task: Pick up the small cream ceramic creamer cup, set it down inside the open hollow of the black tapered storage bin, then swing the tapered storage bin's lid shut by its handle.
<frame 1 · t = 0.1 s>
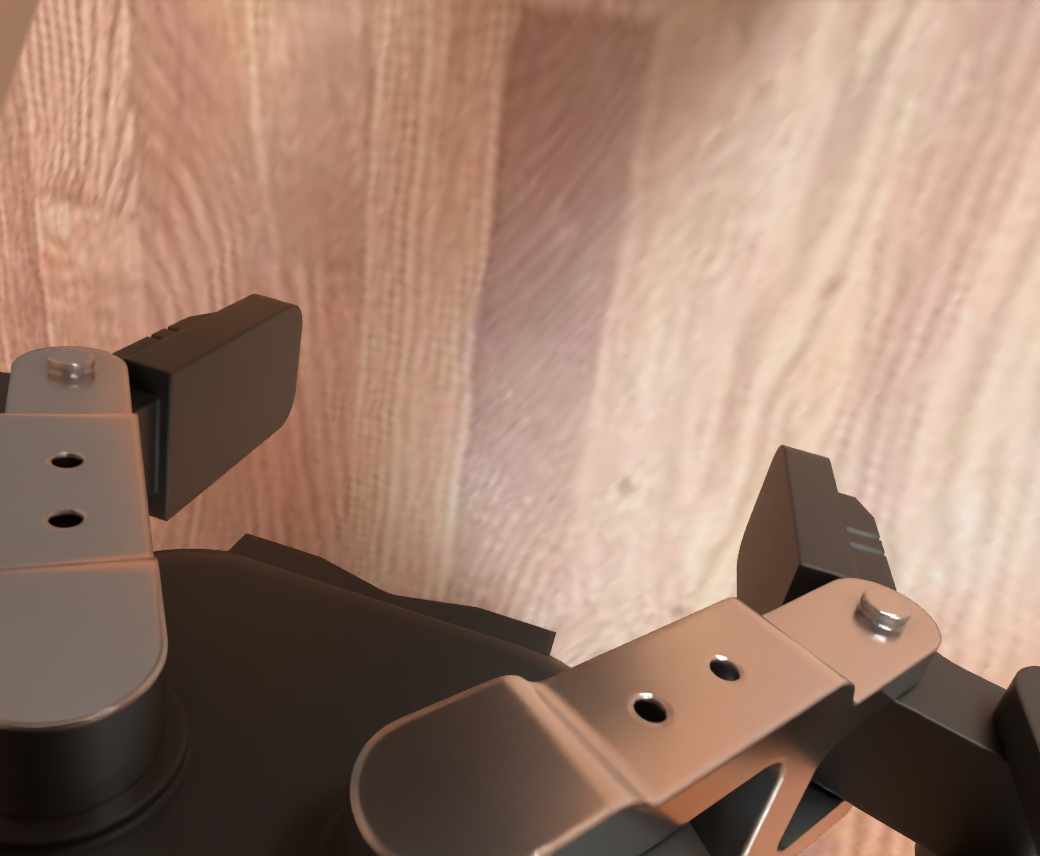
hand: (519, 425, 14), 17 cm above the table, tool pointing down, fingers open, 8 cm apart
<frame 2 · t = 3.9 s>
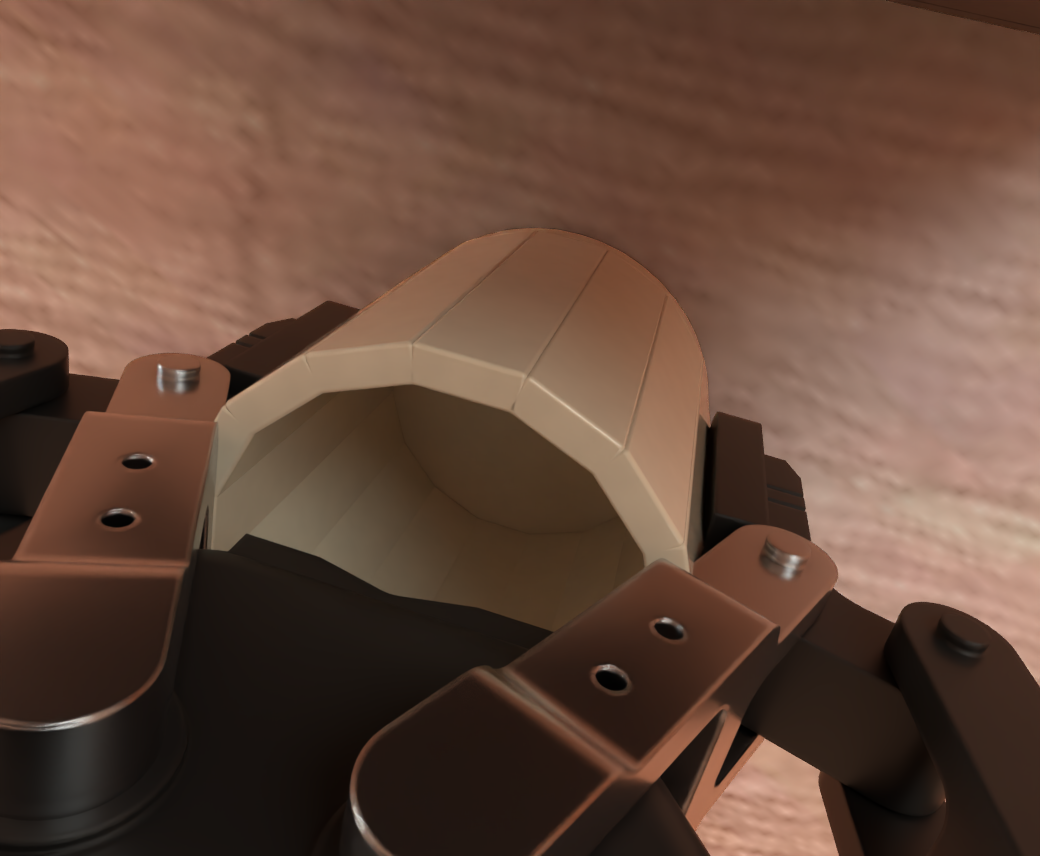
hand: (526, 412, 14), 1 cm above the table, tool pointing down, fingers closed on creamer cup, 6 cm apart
creamer cup: (539, 394, 15), on the table, touching gripper
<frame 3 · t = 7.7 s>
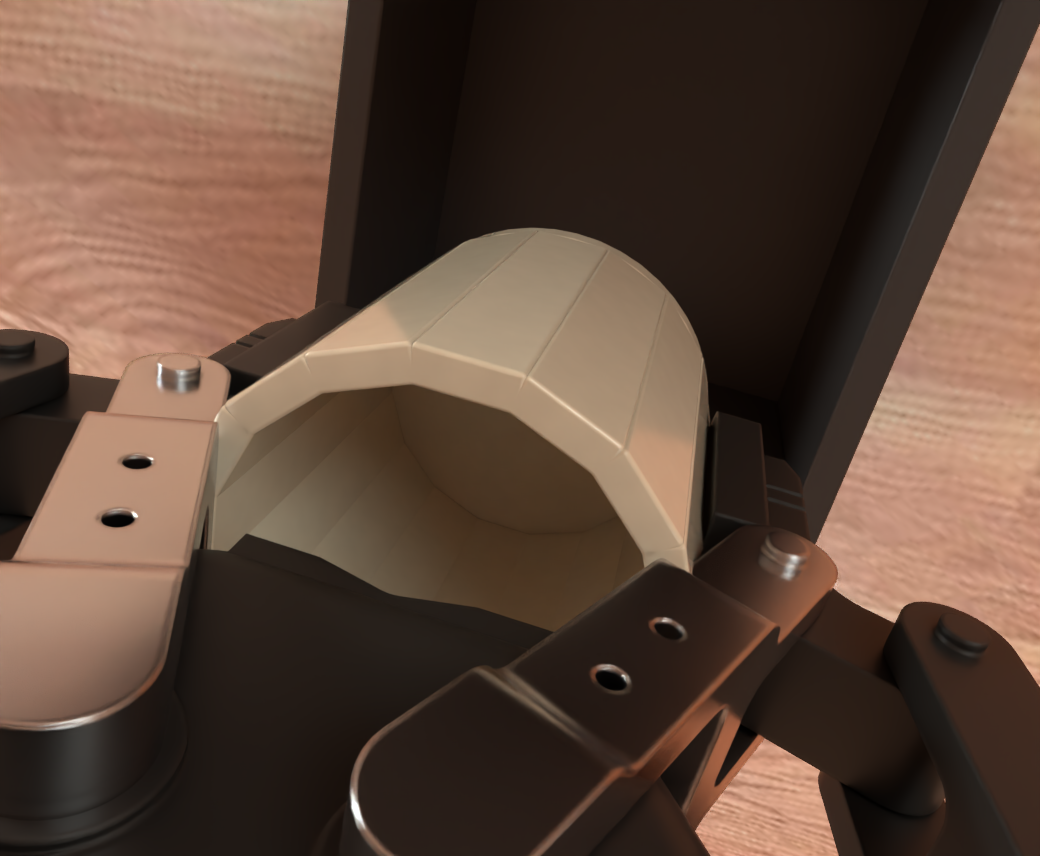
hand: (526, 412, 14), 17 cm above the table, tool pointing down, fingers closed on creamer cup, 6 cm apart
creamer cup: (538, 394, 15), point 16 cm above the table, touching gripper
tapered storage bin: (653, 149, 28), on the table
when the fingers open (2 cm above the table, at t = 11.6 s): creamer cup stays where it is, resting on tapered storage bin.
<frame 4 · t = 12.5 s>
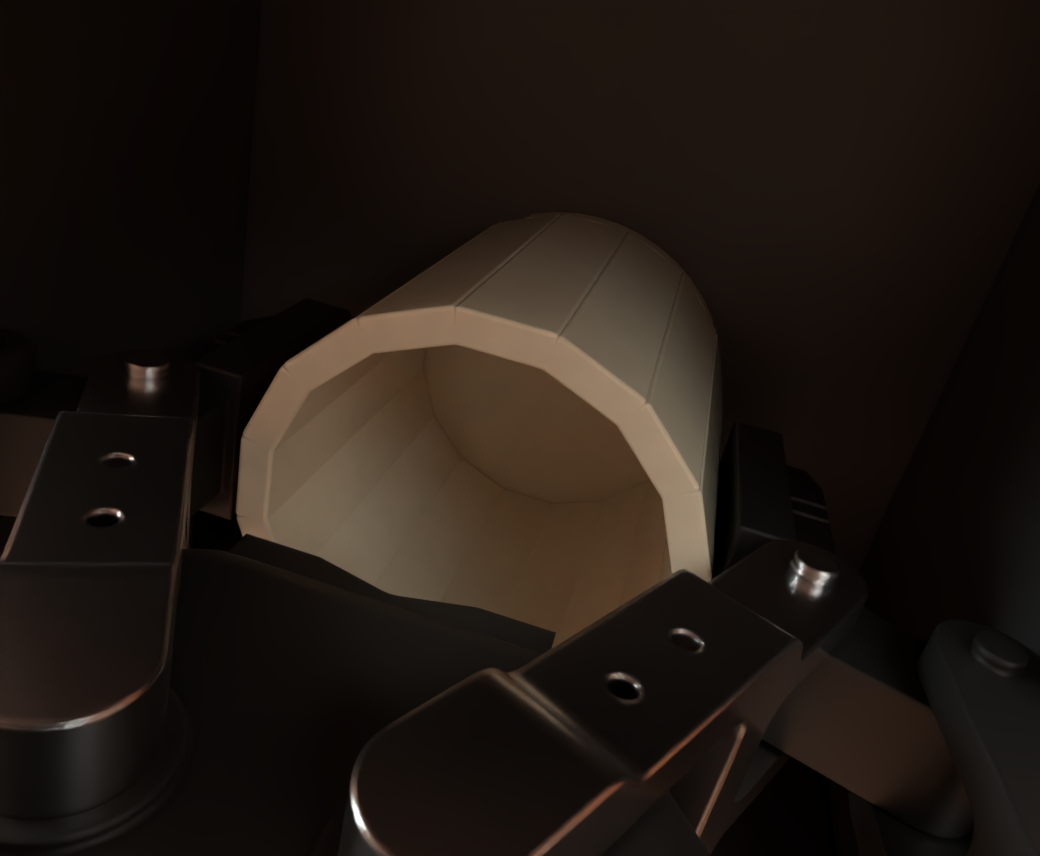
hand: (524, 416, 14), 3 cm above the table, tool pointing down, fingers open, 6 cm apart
creamer cup: (561, 370, 16), point 1 cm above the table, touching tapered storage bin
tapered storage bin: (595, 234, 16), on the table
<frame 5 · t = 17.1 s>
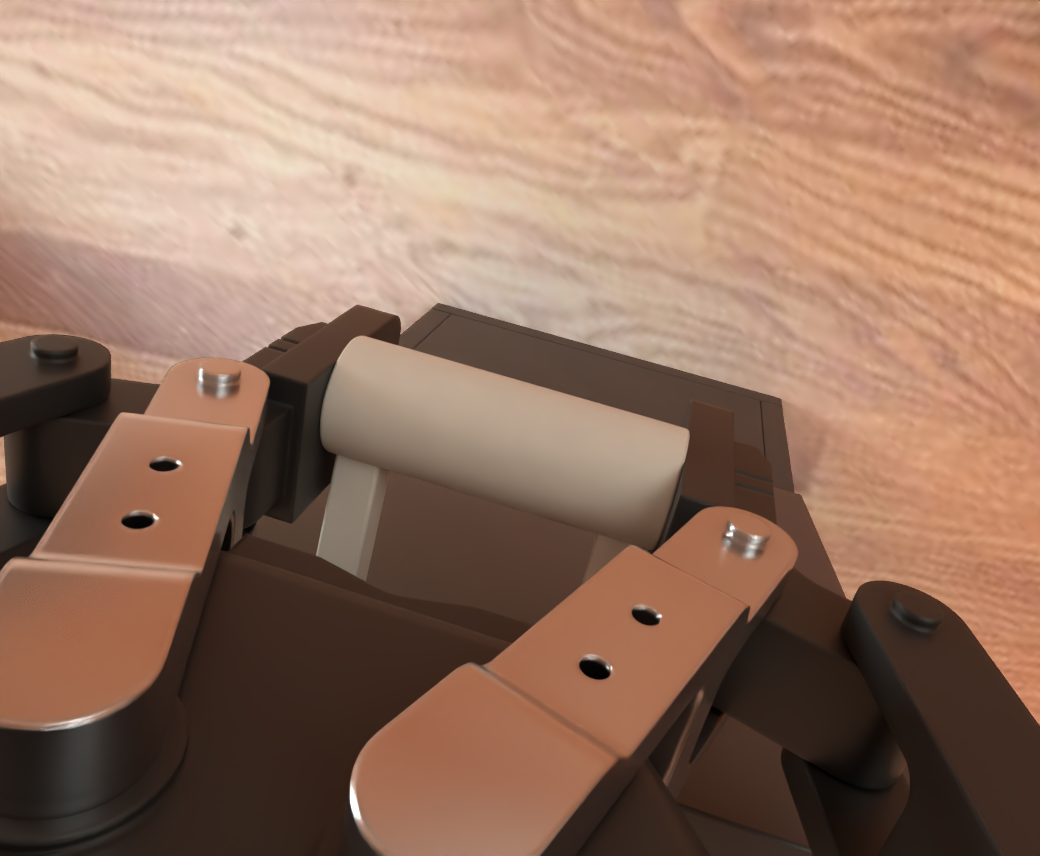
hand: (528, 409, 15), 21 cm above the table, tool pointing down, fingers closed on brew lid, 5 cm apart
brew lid: (542, 441, 19), point 17 cm above the table, hinge at 100.0°, touching gripper
tapered storage bin: (562, 508, 39), on the table
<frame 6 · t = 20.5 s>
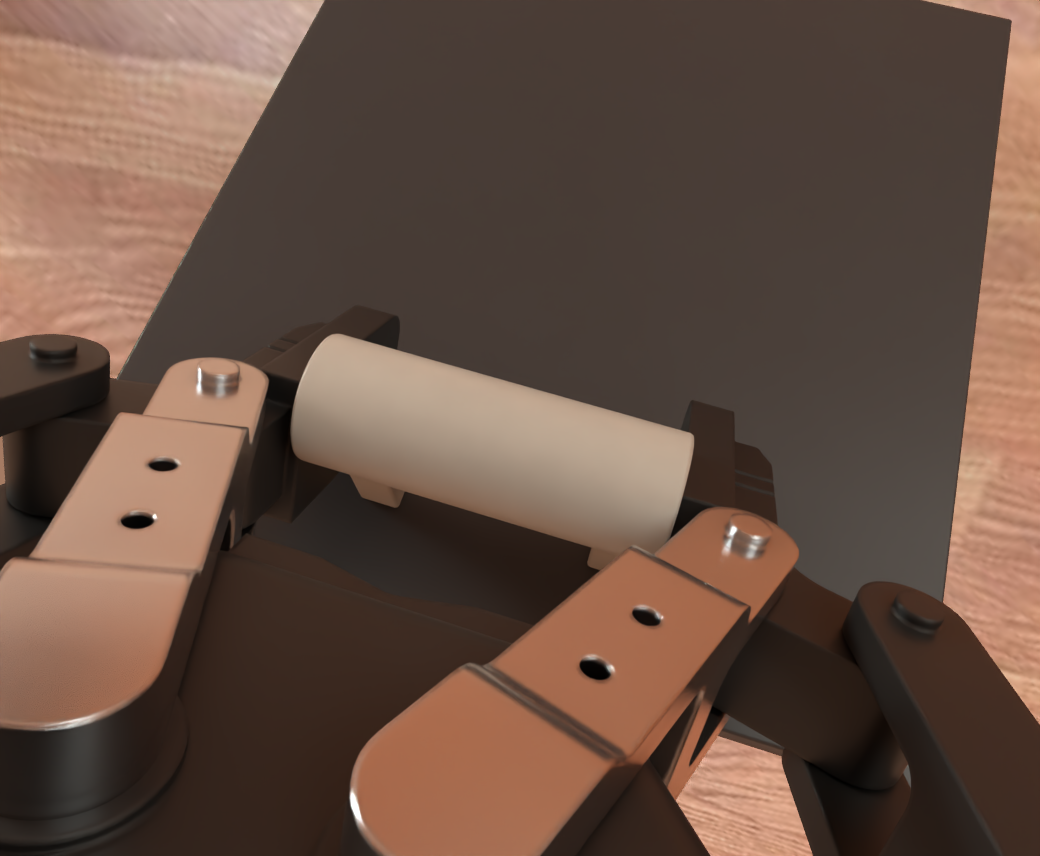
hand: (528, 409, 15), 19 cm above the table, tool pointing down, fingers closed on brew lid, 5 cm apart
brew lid: (601, 174, 15), point 17 cm above the table, hinge at 46.8°, touching gripper
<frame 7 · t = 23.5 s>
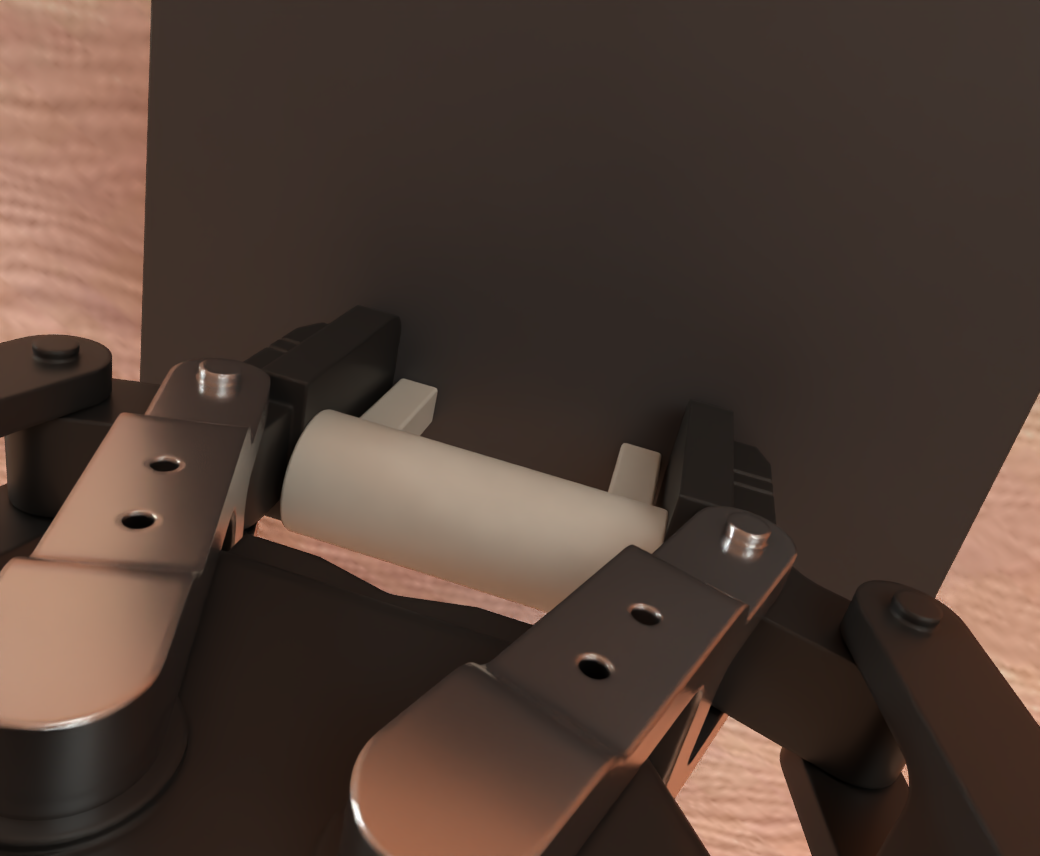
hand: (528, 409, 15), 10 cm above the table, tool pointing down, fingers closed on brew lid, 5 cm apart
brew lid: (600, 54, 11), point 12 cm above the table, hinge at 0.6°, touching gripper
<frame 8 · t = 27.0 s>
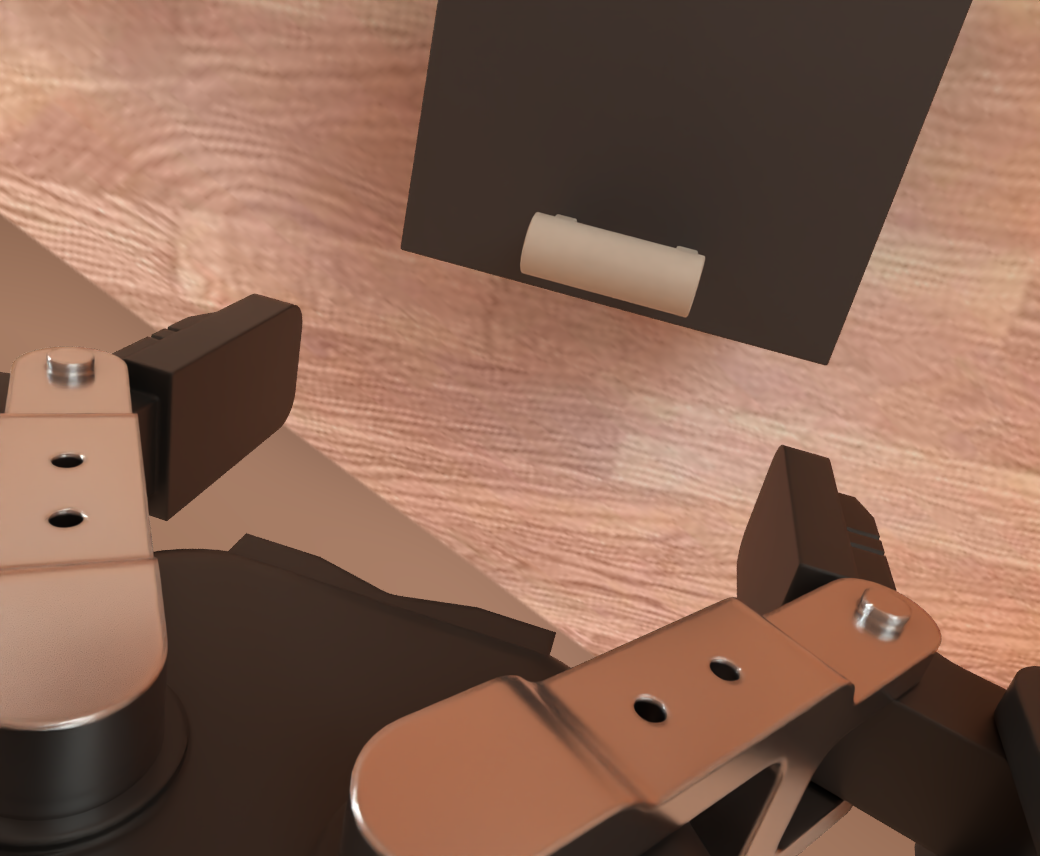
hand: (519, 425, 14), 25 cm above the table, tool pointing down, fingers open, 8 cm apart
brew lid: (675, 38, 24), point 11 cm above the table, hinge at 0.0°
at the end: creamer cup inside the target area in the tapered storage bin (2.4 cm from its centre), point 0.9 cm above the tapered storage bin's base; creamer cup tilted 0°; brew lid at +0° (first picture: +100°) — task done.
